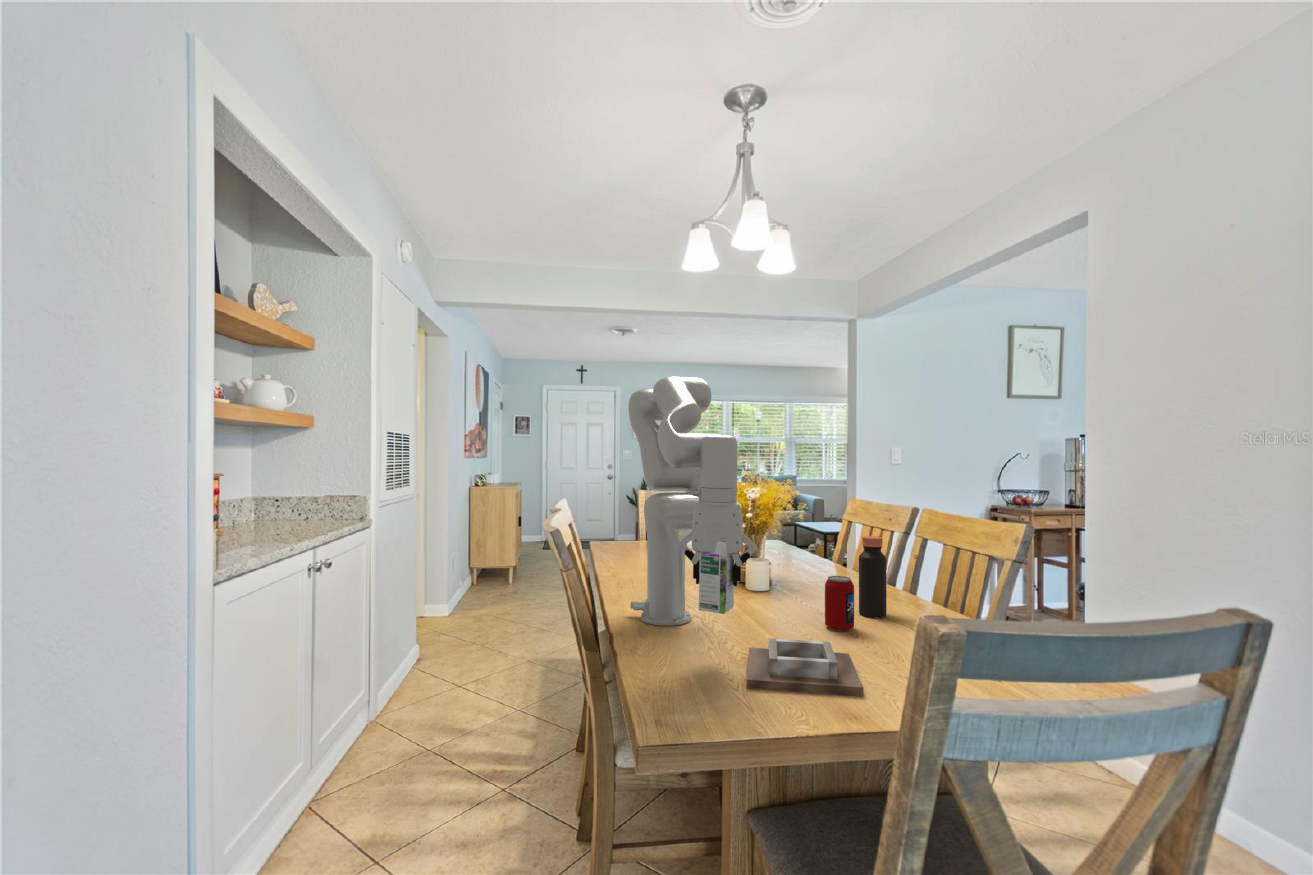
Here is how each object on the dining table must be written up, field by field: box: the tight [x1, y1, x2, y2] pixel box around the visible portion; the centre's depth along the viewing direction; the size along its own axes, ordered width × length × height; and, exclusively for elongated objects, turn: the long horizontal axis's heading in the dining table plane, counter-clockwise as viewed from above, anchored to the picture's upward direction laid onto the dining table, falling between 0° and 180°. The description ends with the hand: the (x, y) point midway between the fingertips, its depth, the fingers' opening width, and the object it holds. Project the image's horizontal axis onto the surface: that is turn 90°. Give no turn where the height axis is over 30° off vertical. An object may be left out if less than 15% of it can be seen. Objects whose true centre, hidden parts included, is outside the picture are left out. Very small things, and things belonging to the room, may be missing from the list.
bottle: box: [858, 535, 888, 619], centre depth 158 cm, size 7×7×20 cm
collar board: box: [746, 638, 864, 697], centre depth 116 cm, size 20×18×4 cm
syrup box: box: [698, 541, 735, 615], centre depth 124 cm, size 6×6×14 cm
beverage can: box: [824, 575, 855, 632], centre depth 146 cm, size 7×7×12 cm
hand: (716, 582), depth 124 cm, fingers closed on syrup box, 6 cm apart
